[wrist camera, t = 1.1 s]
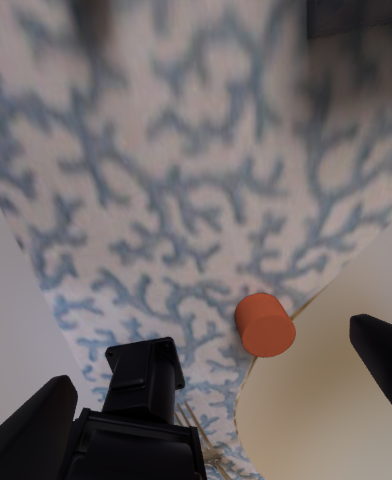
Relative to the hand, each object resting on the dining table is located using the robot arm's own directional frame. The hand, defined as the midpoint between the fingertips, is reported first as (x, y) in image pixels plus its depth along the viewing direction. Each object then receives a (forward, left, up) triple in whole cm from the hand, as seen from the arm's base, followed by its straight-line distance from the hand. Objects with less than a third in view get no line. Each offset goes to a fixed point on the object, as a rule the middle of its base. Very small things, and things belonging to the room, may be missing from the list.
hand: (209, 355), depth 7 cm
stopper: (-9, -4, -12) cm, 16 cm away
